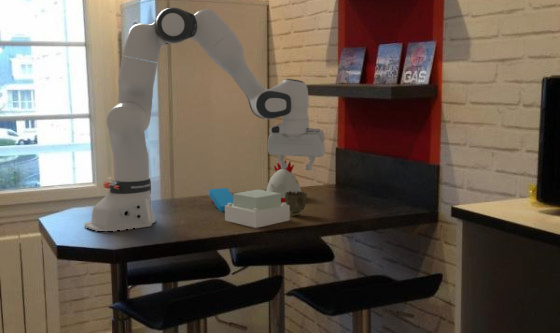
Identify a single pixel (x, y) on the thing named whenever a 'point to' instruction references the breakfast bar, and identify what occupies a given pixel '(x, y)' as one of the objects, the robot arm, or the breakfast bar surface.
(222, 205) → the blue long block
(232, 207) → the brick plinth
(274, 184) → the kitchen timer
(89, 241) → the breakfast bar surface
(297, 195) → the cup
